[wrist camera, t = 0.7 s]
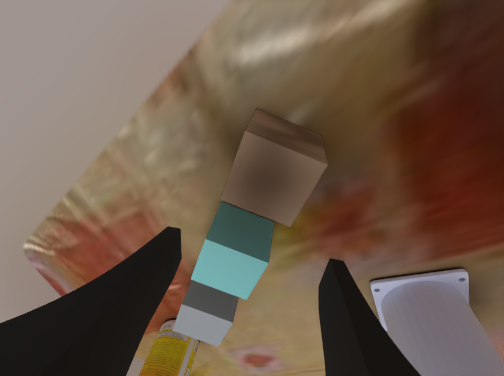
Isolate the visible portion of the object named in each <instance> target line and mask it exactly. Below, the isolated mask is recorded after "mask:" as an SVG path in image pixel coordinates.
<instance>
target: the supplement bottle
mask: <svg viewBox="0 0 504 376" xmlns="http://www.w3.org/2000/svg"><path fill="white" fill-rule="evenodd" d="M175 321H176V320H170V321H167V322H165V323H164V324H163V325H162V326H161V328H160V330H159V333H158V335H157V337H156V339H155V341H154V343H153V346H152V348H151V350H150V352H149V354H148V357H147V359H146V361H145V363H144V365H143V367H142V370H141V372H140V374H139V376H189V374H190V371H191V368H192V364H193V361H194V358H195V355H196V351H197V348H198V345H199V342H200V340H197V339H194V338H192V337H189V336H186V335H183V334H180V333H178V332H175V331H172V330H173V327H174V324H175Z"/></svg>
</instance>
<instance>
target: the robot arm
mask: <svg viewBox="0 0 504 376" xmlns="http://www.w3.org/2000/svg"><path fill="white" fill-rule="evenodd" d="M181 259H182V256H181V230H180V229H179V228H174V227H169V226H168V227H167V228H165V229H164V230H163V231H162V232H160V233H159V234H158V235H157V236H155V237H154V238H153V239H152V240H150V241H149V242H148V243H147V244H145V245H144V246H143V247H141V248H140V249H139V250H137V251H136V252H135V253H133V254H132V255H131V256H129V257H128V258H126V259H125V260H123V261H122V262H121V263H119V264H118V265H116V266H115V267H113V268H112V269H110V270H109V271H107V272H106V273H104V274H102V275H101V276H99V277H97V278H96V279H94V280H92V281H91V282H89V283H87V284H85V285H83V286H82V287H80V288H78V289H76V290H74V291H72V292H70V293H68V294H66V295H64V296H62V297H61V298H58V299H56V300H54V301H52V302H50V303H48V304H46V305H43V306H41V307H39V308H37V309H34V310H32V311H30V312H27V313H25V314H23V315H20V316H18V317H15V318H13V319H10V320H7V321H5V322H2V323H0V376H126V374H127V372H128V370H129V367H130V365H131V362H132V360H133V358H134V355H135V353H136V351H137V348H138V346H139V344H140V341H141V339H142V337H143V335H144V332H145V330H146V328H147V326H148V324H149V322H150V320H151V318H152V317H153V315H154V313H155V311H156V309H157V308H158V306H159V304H160V302H161V300H162V299H163V297H164V295H165V293H166V291H167V289H168V288H169V286H170V284H171V282H172V280H173V278H174V276H175V274H176V271H177V269H178V266H179V264H180V261H181ZM370 287H371V290H372V294H373V298H374V301H375V305H376V308H377V312H378V316H379V319H380V322H379V320H378V319H377V317H376V316H375V314H374V313H373V311H372V310H371V308H370V307H369V305H368V303H367V302H366V300H365V298H364V297H363V295H362V293H361V292H360V290H359V288H358V286H357V285H356V283H355V281H354V279H353V278H352V276H351V274H350V272H349V270H348V268H347V267H346V265H345V263H344V261H341V260H336V259H331V258H330V259H329V262H328V264H327V267H326V269H325V272H324V274H323V277H322V279H321V282H320V284H319V317H320V325H321V334H322V342H323V350H324V359H325V371H326V376H504V360H503V359H502V357H501V355H500V354H499V352H498V351H497V349H496V347H495V346H494V344H493V343H492V341H491V339H490V338H489V336H488V335H487V333H486V332H485V330H484V328H483V327H482V325H481V324H480V322H479V320H478V319H477V317H476V316H475V314H474V313H473V311H472V309H471V308H470V306H469V279H468V273H467V271H466V270H464V269H455V270H448V271H440V272H433V273H426V274H418V275H411V276H403V277H396V278H389V279H381V280H374V281H372V282H371V283H370Z"/></svg>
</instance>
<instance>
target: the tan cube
mask: <svg viewBox="0 0 504 376" xmlns="http://www.w3.org/2000/svg"><path fill="white" fill-rule="evenodd" d="M327 166H328V162H327V158H326V154H325V150H324V146H323V141H322V137H321V135H319V134H317V133H315V132H312V131H310V130H307V129H305V128H303V127H300V126H298V125H296V124H293V123H291V122H288V121H286V120H284V119H281V118H279V117H276V116H274V115H272V114H269V113H267V112H265V111H262V110H260V109H256V111H255V113H254V115H253V117H252V118H251V120H250V122H249V124H248V126H247V128H246V130H245V132H244V135H243V138H242V140H241V143H240V146H239V148H238V151H237V154H236V157H235V159H234V162H233V165H232V167H231V170H230V173H229V176H228V178H227V181H226V184H225V186H224V189H223V192H222V194H221V197H220V200H222V201H225V202H227V203H230V204H232V205H235V206H238V207H240V208H243V209H245V210H248V211H250V212H253V213H255V214H258V215H260V216H263V217H266V218H268V219H271V220H273V221H276V222H278V223H281V224H283V225H286V226H289V227H291V225H292V223H293V222H294V220H295V219H296V217H297V215H298V214H299V212H300V210H301V209H302V207H303V205H304V204H305V202H306V201H307V199H308V197H309V196H310V194H311V192H312V191H313V189H314V187H315V186H316V184H317V183H318V181H319V179H320V178H321V176H322V174H323V173H324V171H325V169H326V168H327Z"/></svg>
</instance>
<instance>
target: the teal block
mask: <svg viewBox="0 0 504 376" xmlns="http://www.w3.org/2000/svg"><path fill="white" fill-rule="evenodd" d="M273 225H274V222H273V221H270V220H268V219H265V218H263V217H260V216H257V215H255V214H252V213H250V212H247V211H245V210H242V209H240V208H237V207H235V206H232V205H229V204H227V203H224V202H222V203H221V206H220V208H219V210H218V212H217V214H216V217H215V219H214V221H213V223H212V226H211V228H210V230H209V232H208V235H207V237H206V239H205V242H204V245H203V247H202V250H201V253H200V255H199V258H198V261H197V263H196V266H195V269H194V272H193V274H192V277H191V280H194V281H196V282H199V283H202V284H205V285H207V286H210V287H213V288H215V289H218V290H221V291H223V292H226V293H229V294H231V295H234V296H237V297H240V298H242V299H245V300H247V298H248V296H249V295H250V293H251V292H252V290H253V288H254V287H255V285H256V283H257V282H258V280H259V278H260V277H261V275H262V274H263V272H264V270H265V269H266V267H267V265H268V264H269V258H270V249H271V241H272V233H273Z"/></svg>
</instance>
